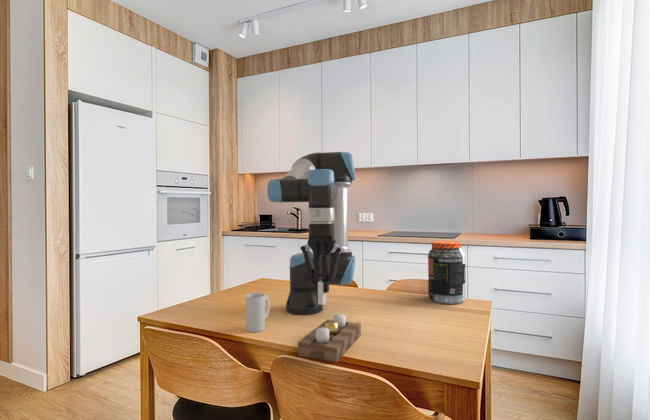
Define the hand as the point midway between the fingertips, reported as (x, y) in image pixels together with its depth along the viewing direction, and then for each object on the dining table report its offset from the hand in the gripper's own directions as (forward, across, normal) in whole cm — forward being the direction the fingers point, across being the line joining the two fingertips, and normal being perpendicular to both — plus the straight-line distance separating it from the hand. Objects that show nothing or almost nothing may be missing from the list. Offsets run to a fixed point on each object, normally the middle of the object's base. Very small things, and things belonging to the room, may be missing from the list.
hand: (322, 303), depth 111 cm
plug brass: (+12, 0, +7) cm, 14 cm away
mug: (+15, -30, +12) cm, 35 cm away
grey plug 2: (+12, 0, +14) cm, 18 cm away
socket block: (+15, 0, +7) cm, 16 cm away
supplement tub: (+15, +28, +74) cm, 81 cm away
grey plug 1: (+12, 0, 0) cm, 12 cm away
